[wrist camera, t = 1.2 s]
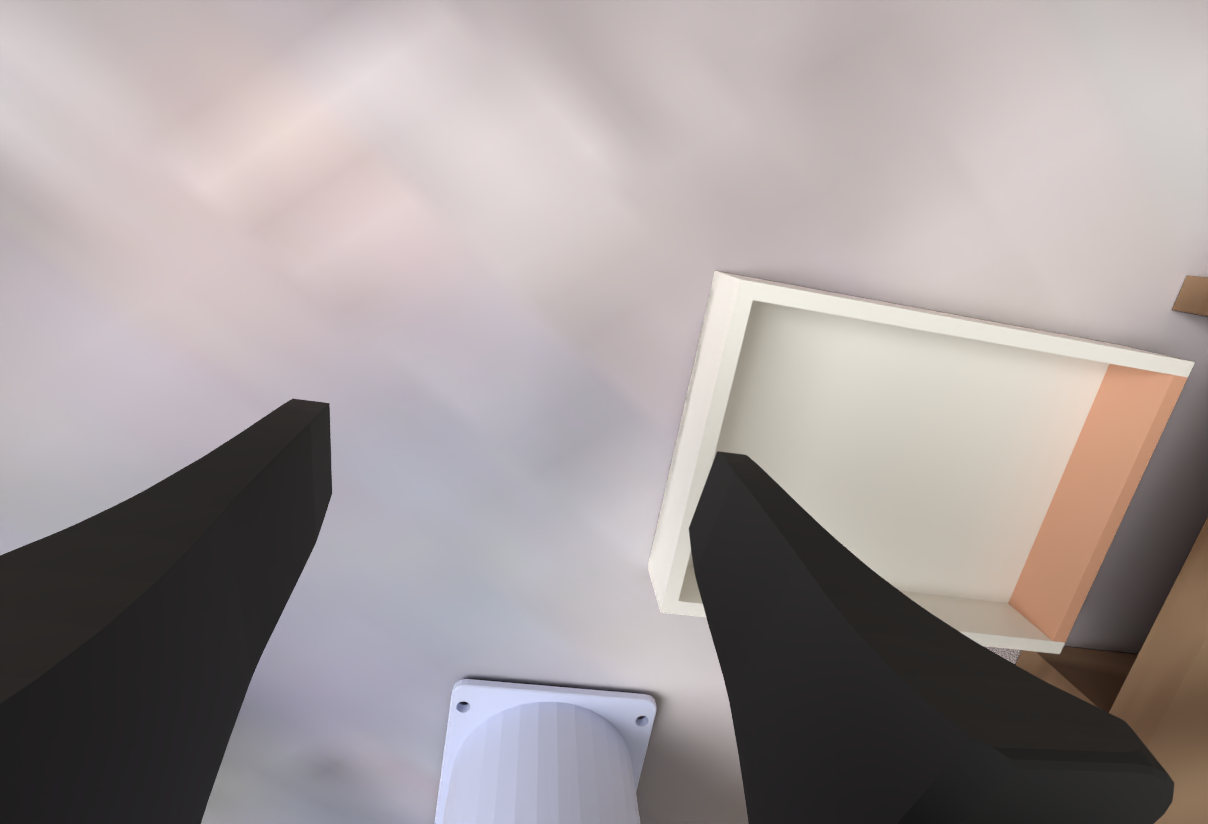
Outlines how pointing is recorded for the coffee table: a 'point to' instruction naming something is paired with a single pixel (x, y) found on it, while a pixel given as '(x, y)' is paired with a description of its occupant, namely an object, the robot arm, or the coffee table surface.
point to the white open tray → (922, 448)
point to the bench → (1157, 666)
